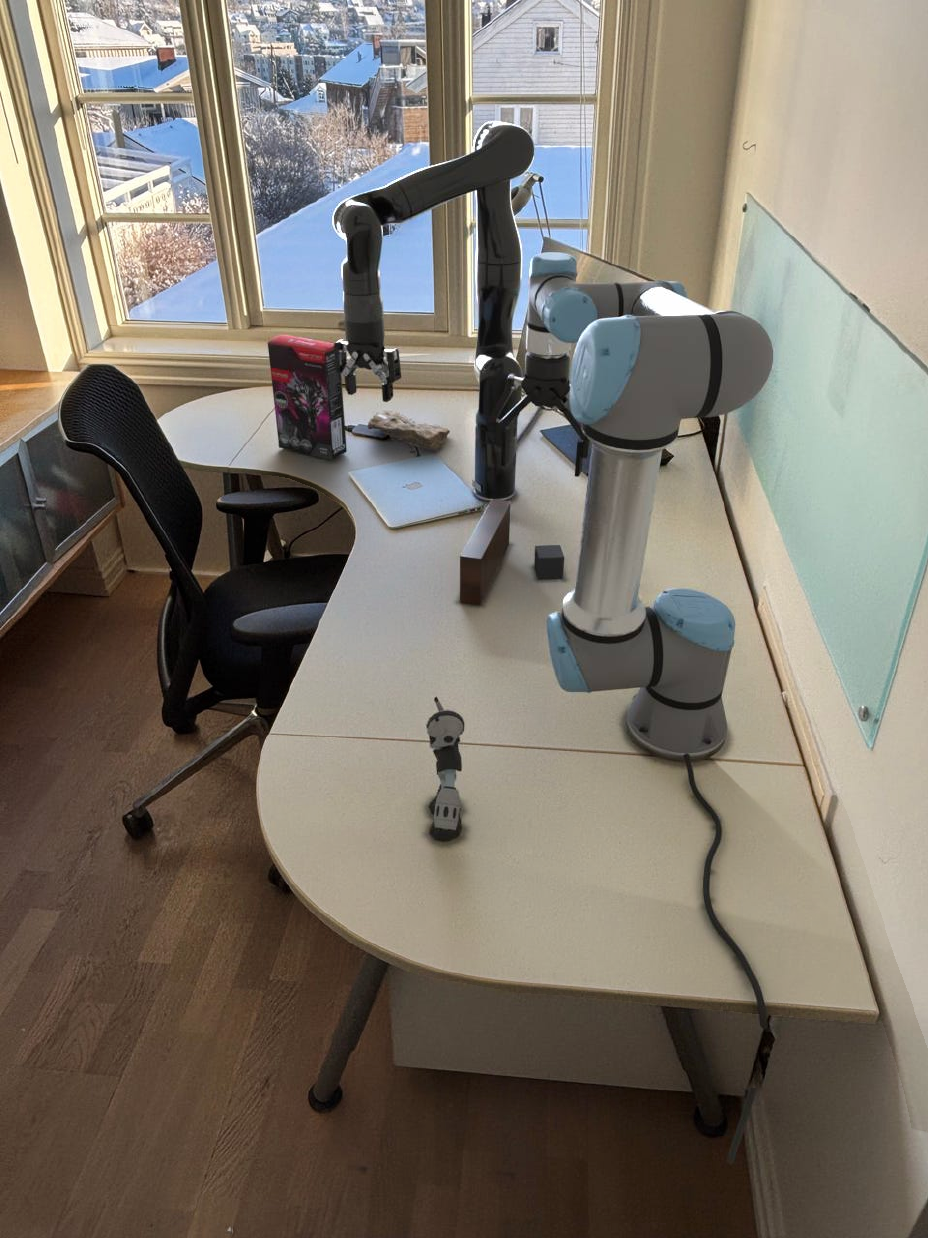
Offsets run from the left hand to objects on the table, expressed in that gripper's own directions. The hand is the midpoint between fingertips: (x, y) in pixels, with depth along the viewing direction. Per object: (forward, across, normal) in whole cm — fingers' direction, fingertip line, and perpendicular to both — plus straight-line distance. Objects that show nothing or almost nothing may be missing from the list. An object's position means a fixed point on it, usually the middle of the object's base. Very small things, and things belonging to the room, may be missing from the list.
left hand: (369, 397), depth 184 cm
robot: (+28, -58, +68) cm, 94 cm away
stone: (+28, +19, -40) cm, 52 cm away
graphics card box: (+28, +35, -22) cm, 50 cm away
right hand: (+4, -41, +5) cm, 41 cm away
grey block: (+28, -41, +1) cm, 50 cm away
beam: (+28, -31, +7) cm, 42 cm away
